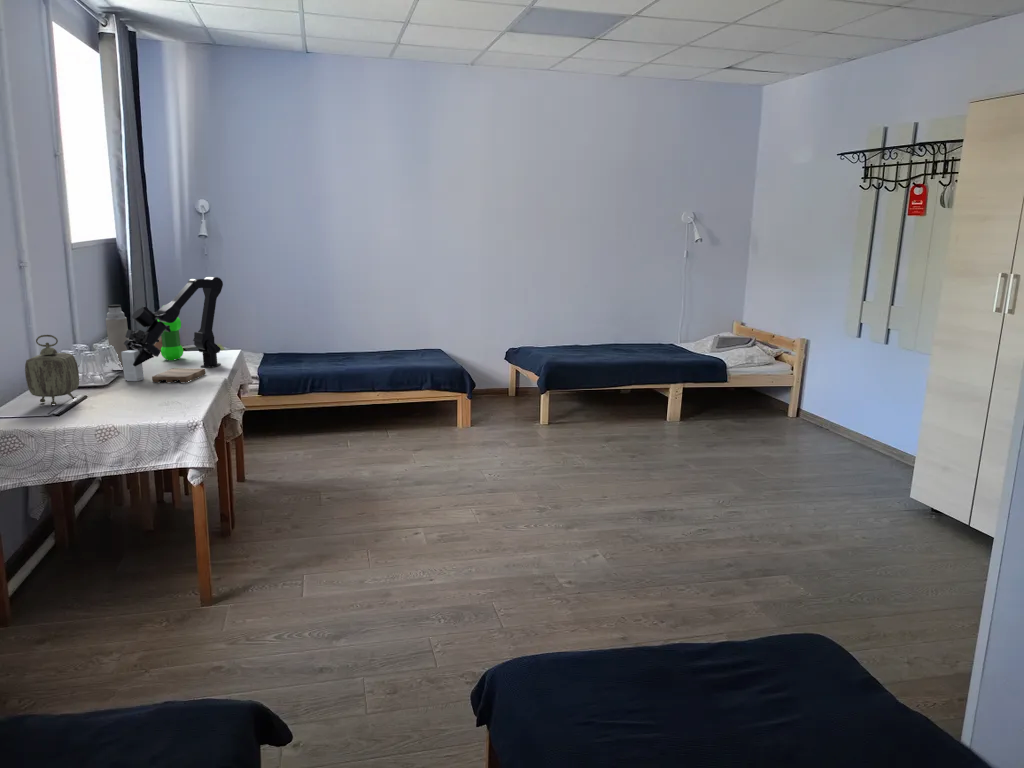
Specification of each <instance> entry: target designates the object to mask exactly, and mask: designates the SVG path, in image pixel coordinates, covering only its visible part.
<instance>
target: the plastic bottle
mask: <svg viewBox="0 0 1024 768" xmlns="http://www.w3.org/2000/svg"><path fill="white" fill-rule="evenodd" d="M164 305H165V304H164ZM164 305H161V308H162V307H163V306H164ZM156 320H157V321H158V322H160V321H159V320H158V319H156ZM163 323H164V324H165V325H169V326H170V330H171V332H166V331H164V332H163V334H162V335H161V336H160V337H161V344H162V346H161V348H160V355H161V356H162V357H163V358H164V359H165V360H167V359H168V360H167V361H169V360H170V361H175V360H174V359H178V358H179V359H181V358H182V356H183V355H184V348H183V346H182V345H181V338H180V330H181V328H182V321H181V318H180V317H179V316H178V317H177V319H176V321H174V322H173V323H166V322H163ZM179 359H178V360H179Z"/></svg>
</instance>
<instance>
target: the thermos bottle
mask: <svg viewBox="0 0 1024 768" xmlns="http://www.w3.org/2000/svg"><path fill="white" fill-rule="evenodd" d="M107 307H108V312H107V313H106V318H105V324H106V325H105V326H106V333H107V339H108V340H107V341H108V346H109V345H112V346H114V347H115V349H116V352H117V354H118V358H119V361H120V362H121V365H122V367H123V362H122V355H121V352H123V351H127V347H126V345H124V342H125V341H126V340H130V338H127V337H125V336H126V333H127V330H129V328H128V320H127V319H128V318H127V317H126V316H125V312H123V311H122V305H121V304H109V305H107Z"/></svg>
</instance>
